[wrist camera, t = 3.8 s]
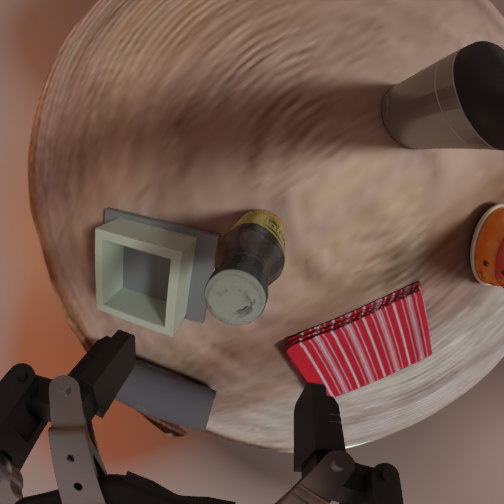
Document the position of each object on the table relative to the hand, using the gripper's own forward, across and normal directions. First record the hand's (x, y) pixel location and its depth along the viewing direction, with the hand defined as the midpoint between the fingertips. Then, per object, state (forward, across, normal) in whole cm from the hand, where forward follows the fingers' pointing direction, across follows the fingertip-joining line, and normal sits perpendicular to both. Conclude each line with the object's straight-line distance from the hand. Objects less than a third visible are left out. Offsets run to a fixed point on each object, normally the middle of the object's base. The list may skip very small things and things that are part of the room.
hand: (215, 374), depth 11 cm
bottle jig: (+26, +14, +9) cm, 31 cm away
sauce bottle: (+26, 0, 0) cm, 26 cm away
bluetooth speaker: (+26, +12, +32) cm, 43 cm away
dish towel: (+27, -22, +15) cm, 38 cm away
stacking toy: (+26, -39, -9) cm, 48 cm away
